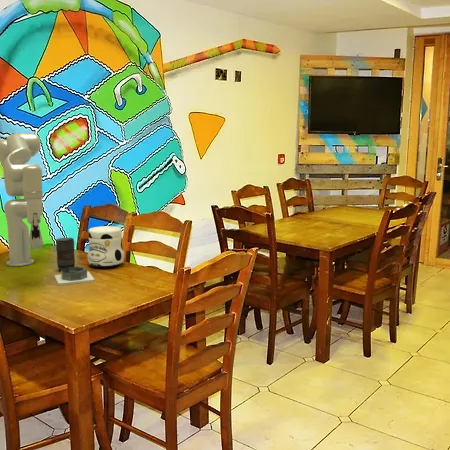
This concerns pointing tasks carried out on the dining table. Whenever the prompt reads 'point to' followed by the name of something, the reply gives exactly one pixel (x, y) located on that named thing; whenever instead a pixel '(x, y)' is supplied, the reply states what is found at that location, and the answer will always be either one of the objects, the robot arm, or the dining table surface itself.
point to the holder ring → (73, 273)
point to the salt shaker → (35, 240)
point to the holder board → (66, 282)
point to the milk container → (105, 246)
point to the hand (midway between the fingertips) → (35, 238)
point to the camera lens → (65, 253)
